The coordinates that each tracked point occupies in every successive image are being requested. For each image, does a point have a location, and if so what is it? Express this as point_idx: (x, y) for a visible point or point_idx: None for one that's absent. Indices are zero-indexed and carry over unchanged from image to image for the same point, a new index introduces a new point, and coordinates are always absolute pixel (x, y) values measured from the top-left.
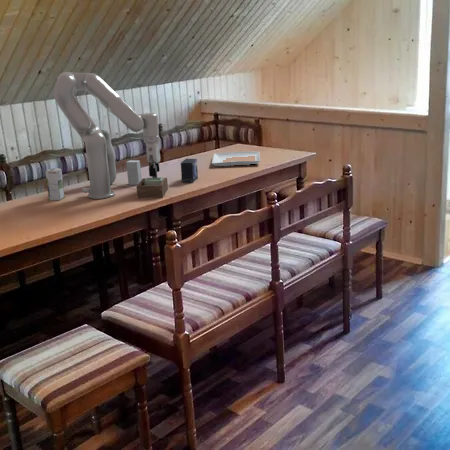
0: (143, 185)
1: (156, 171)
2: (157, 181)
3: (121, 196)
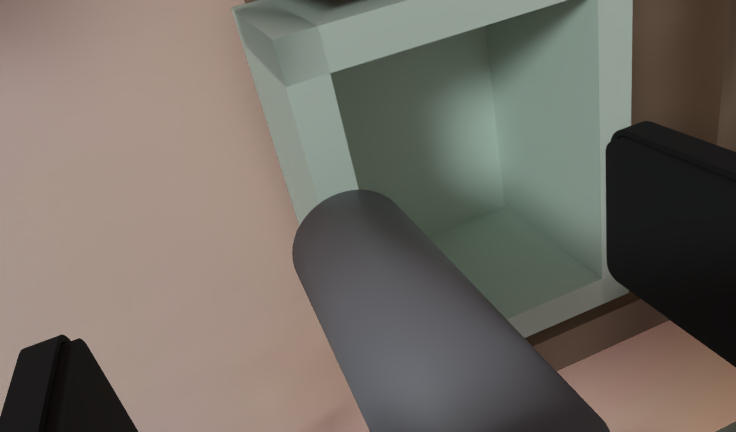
0: None
1: (430, 268)
2: (619, 30)
3: (615, 371)
